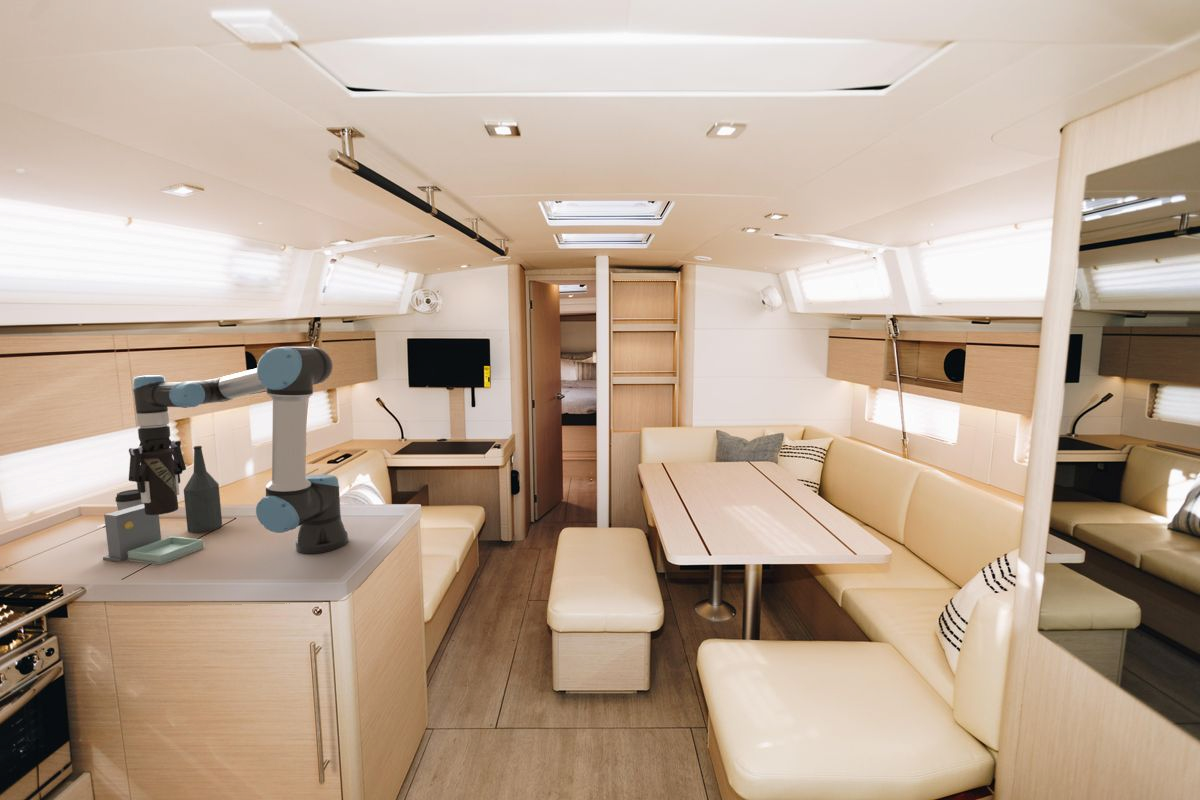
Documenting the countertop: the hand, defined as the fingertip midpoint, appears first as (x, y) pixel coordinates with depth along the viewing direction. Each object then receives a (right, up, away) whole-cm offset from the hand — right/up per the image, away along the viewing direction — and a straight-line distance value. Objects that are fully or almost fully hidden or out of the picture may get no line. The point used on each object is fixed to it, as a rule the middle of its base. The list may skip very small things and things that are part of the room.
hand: (161, 498), depth 167 cm
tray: (0, -18, +2) cm, 18 cm away
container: (0, -4, 0) cm, 4 cm away
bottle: (-4, -16, +25) cm, 30 cm away
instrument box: (-11, -18, +4) cm, 21 cm away
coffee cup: (-25, -16, +20) cm, 36 cm away
